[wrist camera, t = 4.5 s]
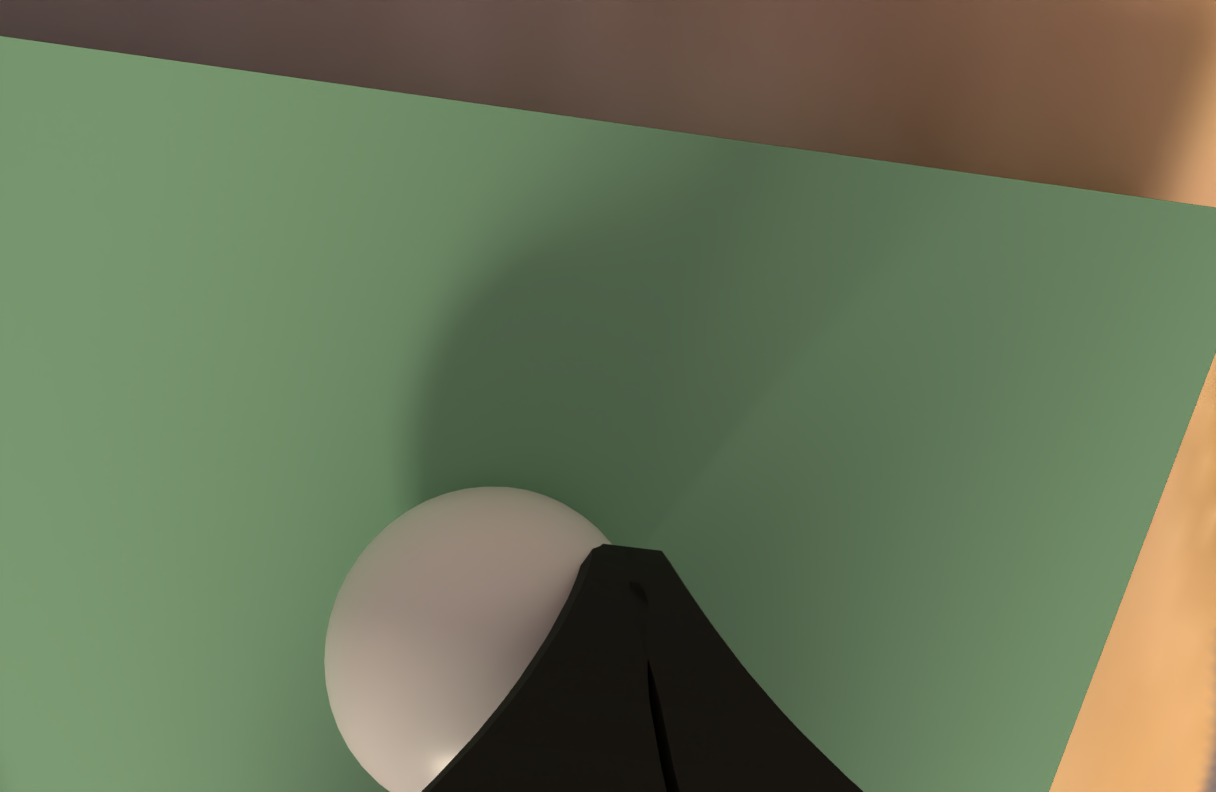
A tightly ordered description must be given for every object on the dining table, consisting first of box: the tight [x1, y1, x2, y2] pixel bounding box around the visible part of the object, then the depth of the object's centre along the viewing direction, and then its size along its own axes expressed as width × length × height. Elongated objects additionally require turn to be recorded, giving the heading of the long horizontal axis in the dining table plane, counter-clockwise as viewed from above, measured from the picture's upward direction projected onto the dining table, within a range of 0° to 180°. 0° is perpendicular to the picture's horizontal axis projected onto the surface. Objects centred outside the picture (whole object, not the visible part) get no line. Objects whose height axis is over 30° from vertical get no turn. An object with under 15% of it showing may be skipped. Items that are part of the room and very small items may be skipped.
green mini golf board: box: [0, 36, 1216, 792], centre depth 12 cm, size 14×30×4 cm, turn 83°
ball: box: [324, 486, 612, 792], centre depth 10 cm, size 4×4×4 cm
